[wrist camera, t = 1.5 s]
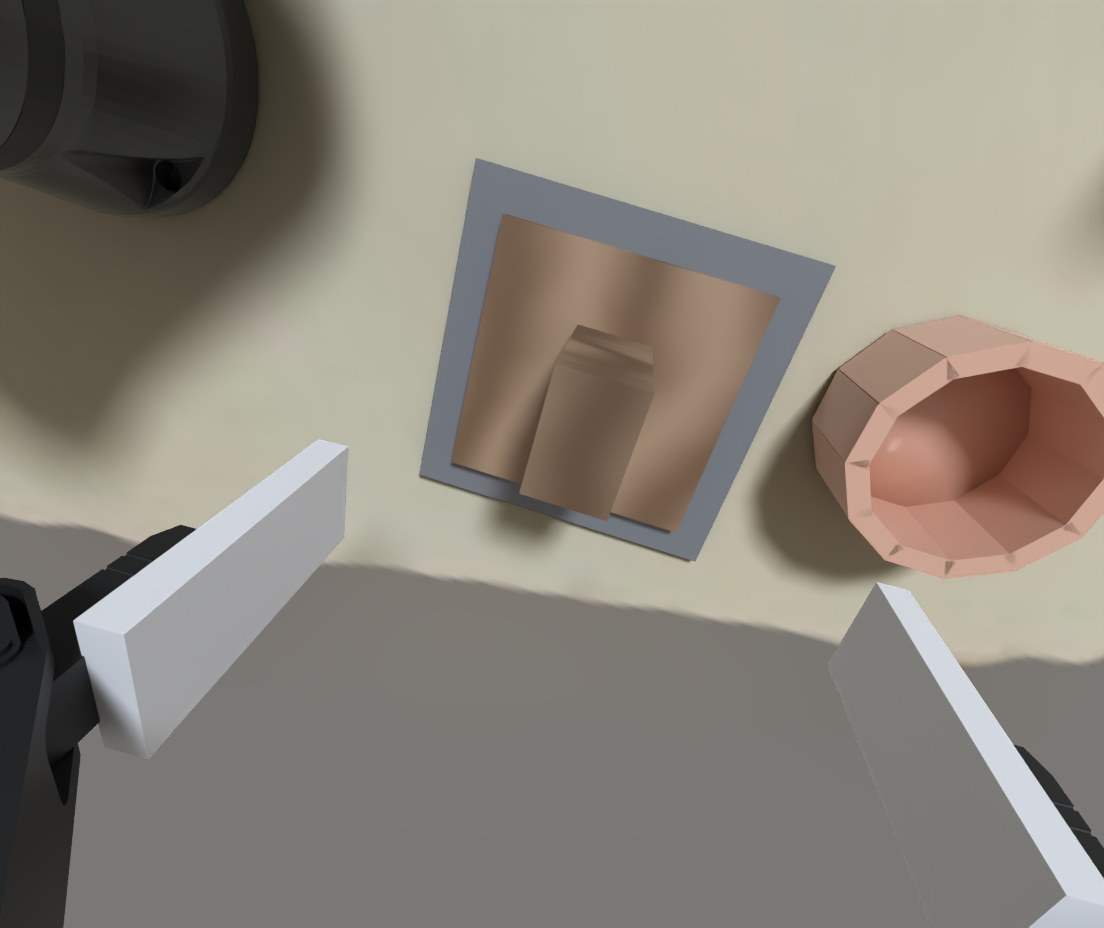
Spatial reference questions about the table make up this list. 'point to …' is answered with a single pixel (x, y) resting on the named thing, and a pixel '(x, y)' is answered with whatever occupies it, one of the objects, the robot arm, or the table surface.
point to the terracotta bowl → (964, 446)
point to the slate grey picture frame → (646, 236)
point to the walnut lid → (603, 373)
